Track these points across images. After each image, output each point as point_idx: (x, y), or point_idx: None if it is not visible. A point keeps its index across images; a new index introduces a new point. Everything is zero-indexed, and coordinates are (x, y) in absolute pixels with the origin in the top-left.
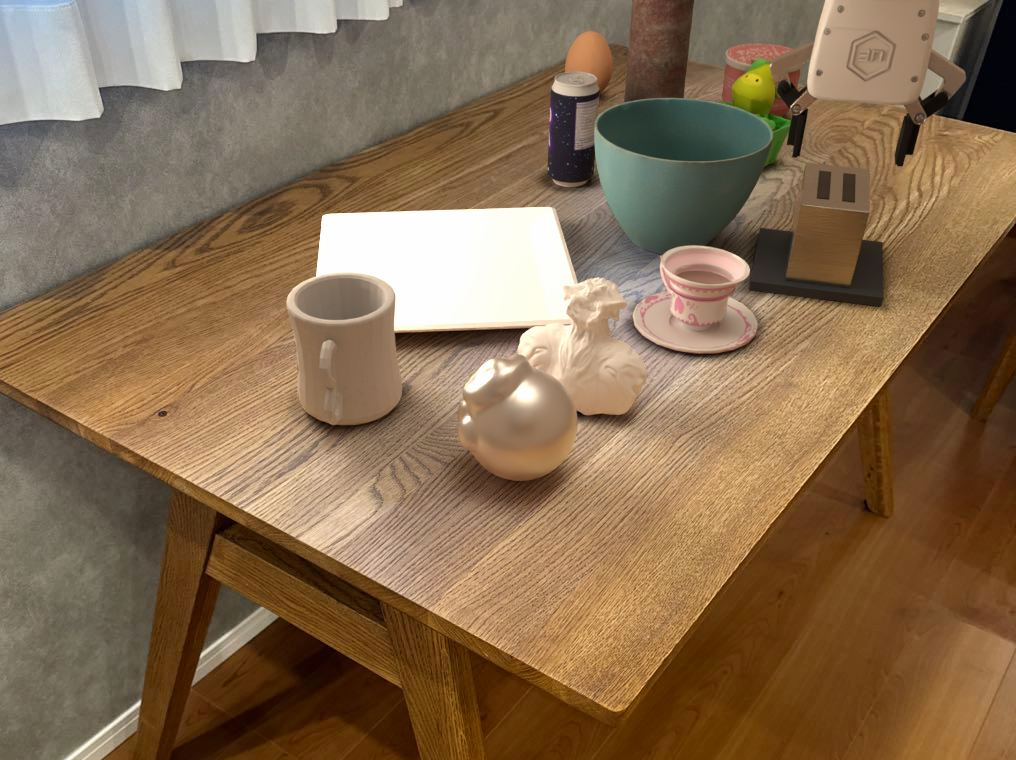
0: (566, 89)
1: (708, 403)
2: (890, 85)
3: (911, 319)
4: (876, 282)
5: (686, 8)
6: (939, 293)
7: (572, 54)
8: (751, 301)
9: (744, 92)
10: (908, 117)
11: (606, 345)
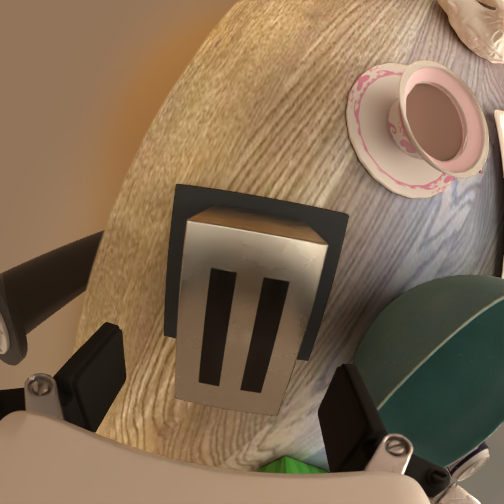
0: (486, 453)
1: (383, 4)
2: (73, 493)
3: (150, 159)
4: (178, 227)
5: None
6: (112, 230)
7: None
8: (345, 183)
9: None
10: (71, 407)
11: (482, 7)
